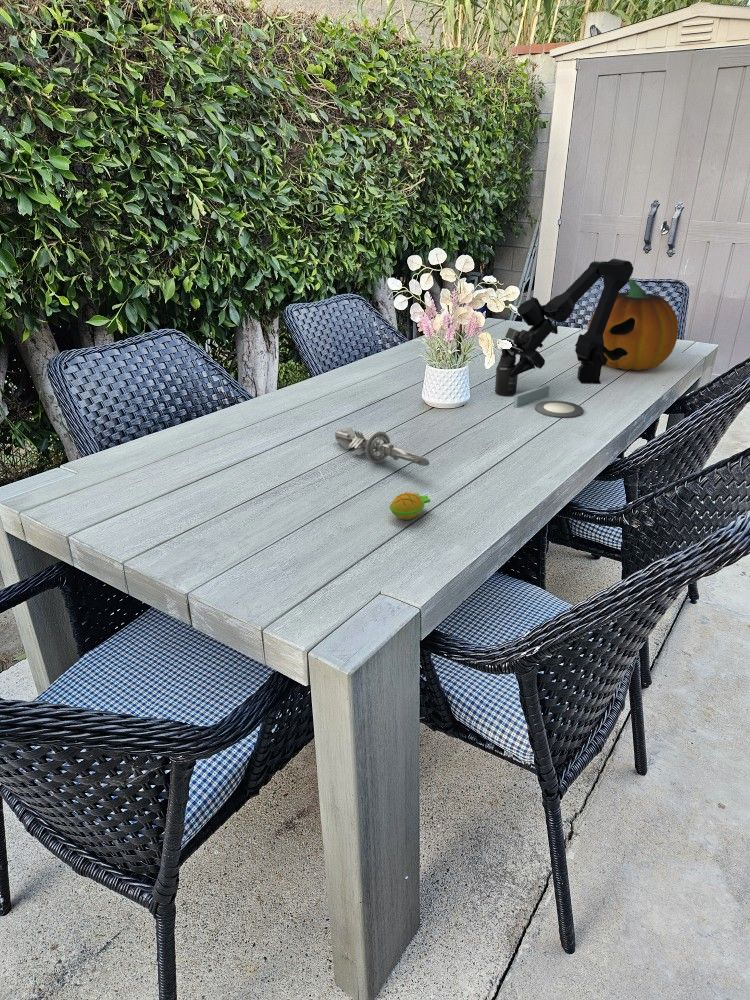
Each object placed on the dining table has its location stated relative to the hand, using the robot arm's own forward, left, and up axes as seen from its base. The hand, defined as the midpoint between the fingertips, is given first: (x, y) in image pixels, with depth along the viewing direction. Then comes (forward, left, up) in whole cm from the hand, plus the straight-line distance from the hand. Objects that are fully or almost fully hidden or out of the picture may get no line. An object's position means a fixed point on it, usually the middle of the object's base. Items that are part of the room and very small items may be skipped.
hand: (503, 373), depth 214 cm
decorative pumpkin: (-49, -36, -7) cm, 62 cm away
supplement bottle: (-1, -1, -7) cm, 7 cm away
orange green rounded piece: (+30, +83, -7) cm, 89 cm away
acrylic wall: (-8, +7, -7) cm, 13 cm away
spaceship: (+37, +56, -7) cm, 68 cm away
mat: (-15, +14, -7) cm, 22 cm away
